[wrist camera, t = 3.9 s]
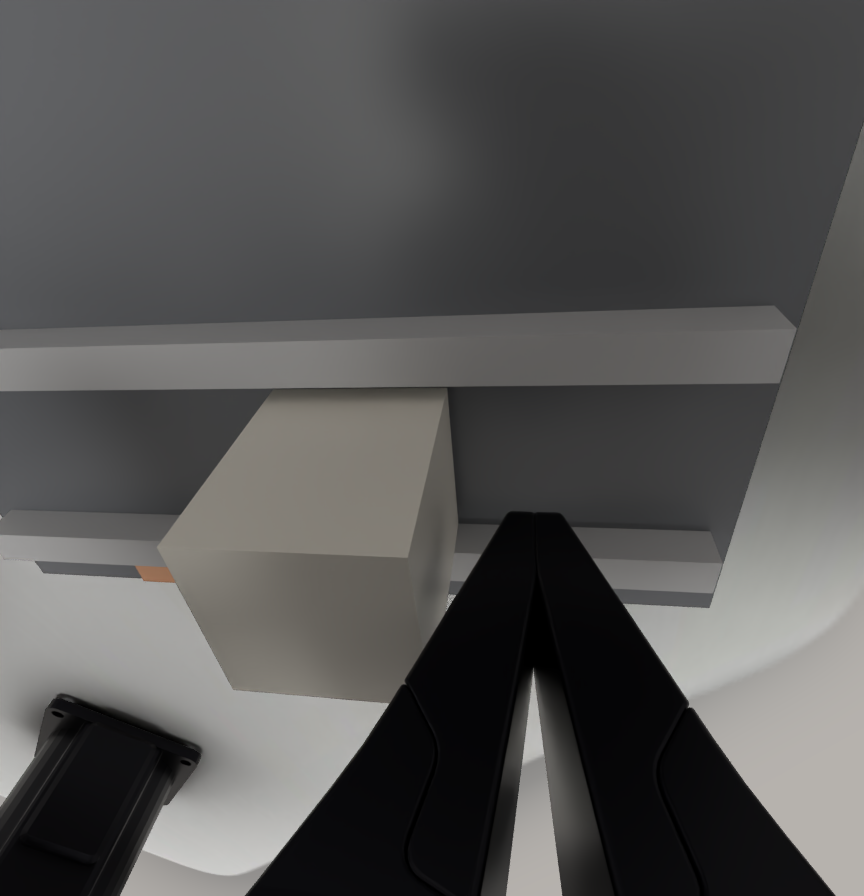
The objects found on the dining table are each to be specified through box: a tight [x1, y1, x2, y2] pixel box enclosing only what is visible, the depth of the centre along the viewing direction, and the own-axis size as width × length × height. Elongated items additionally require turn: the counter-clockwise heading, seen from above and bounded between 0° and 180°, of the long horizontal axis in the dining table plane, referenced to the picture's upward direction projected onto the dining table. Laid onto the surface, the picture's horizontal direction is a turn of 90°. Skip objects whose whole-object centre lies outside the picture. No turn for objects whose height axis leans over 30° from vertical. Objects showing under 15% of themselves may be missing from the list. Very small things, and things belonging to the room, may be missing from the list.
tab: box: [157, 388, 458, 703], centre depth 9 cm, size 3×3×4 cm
